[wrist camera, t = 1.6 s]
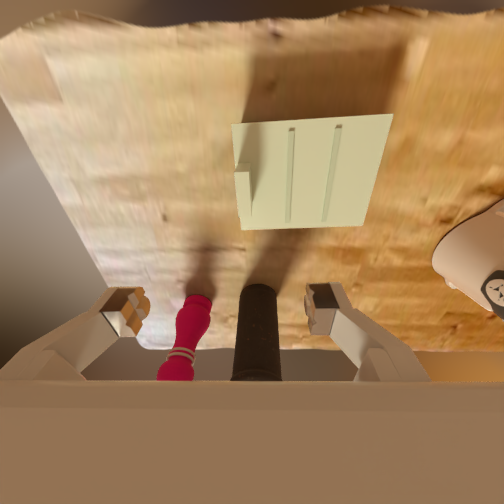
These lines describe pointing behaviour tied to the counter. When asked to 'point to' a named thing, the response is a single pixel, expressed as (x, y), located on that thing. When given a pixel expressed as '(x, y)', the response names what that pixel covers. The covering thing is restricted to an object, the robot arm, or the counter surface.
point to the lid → (307, 170)
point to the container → (257, 336)
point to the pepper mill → (186, 339)
